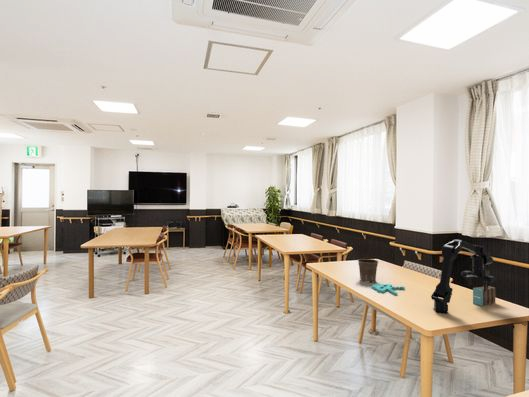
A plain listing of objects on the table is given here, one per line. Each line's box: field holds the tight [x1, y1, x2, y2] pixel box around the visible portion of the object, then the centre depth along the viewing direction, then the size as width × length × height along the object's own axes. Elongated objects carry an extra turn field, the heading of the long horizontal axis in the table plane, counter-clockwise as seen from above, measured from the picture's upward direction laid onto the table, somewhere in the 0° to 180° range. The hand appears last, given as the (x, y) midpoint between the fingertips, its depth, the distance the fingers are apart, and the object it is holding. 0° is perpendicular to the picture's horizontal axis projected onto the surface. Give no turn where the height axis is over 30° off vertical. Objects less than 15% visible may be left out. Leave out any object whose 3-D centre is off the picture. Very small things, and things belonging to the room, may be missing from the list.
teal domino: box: [472, 287, 484, 307], centre depth 200 cm, size 2×5×10 cm, turn 22°
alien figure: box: [371, 283, 406, 296], centre depth 233 cm, size 20×2×20 cm
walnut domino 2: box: [480, 286, 492, 305], centre depth 203 cm, size 2×5×10 cm, turn 21°
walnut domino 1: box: [476, 286, 488, 306], centre depth 202 cm, size 2×5×10 cm, turn 21°
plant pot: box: [357, 258, 379, 282], centre depth 260 cm, size 16×16×16 cm
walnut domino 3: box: [488, 285, 496, 305], centre depth 205 cm, size 2×5×10 cm, turn 21°
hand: (478, 289), depth 200 cm, fingers open, 9 cm apart
